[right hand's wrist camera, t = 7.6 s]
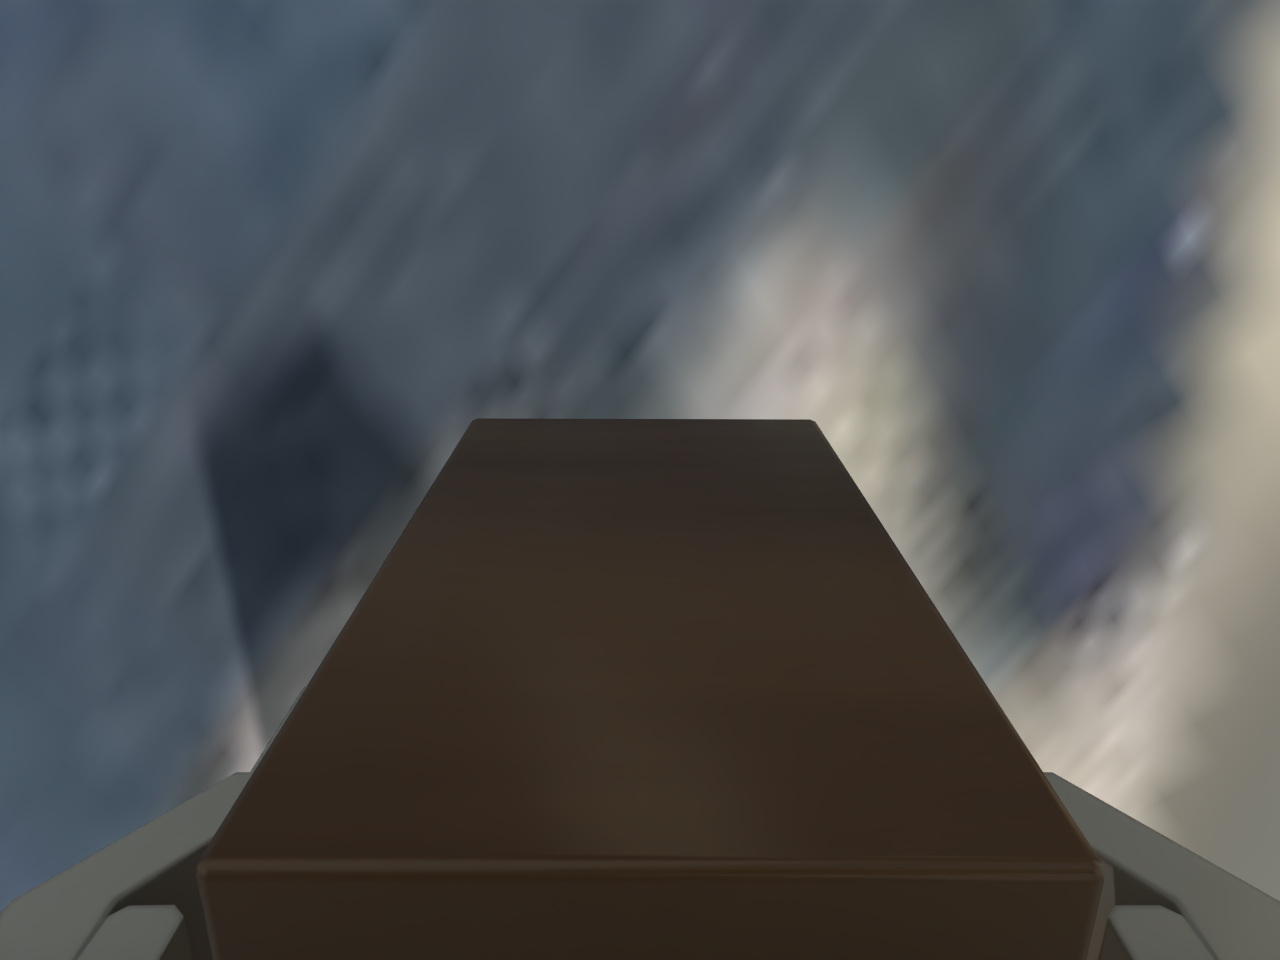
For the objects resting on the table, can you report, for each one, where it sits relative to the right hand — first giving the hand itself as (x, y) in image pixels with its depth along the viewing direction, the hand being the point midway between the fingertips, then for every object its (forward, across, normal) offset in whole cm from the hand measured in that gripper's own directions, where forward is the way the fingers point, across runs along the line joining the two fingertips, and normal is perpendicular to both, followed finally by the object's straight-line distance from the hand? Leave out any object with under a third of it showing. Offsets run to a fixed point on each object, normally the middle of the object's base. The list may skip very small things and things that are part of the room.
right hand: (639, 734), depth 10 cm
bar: (+3, 0, +9) cm, 10 cm away
